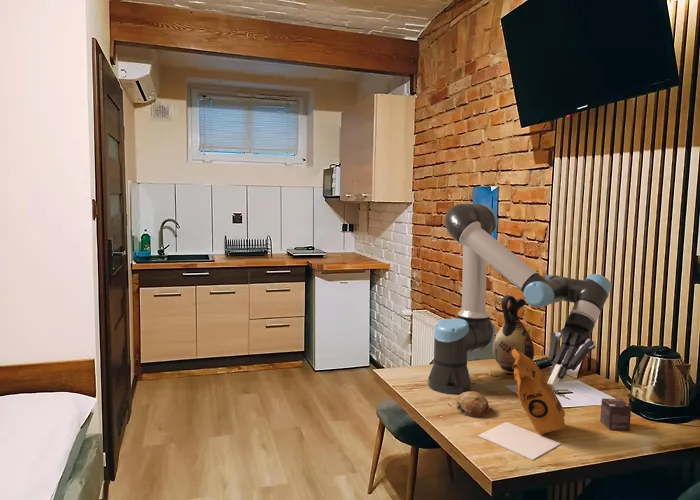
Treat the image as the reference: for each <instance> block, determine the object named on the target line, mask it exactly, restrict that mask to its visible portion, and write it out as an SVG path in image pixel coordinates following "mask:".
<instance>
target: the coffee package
mask: <svg viewBox="0 0 700 500" xmlns="http://www.w3.org/2000/svg"><path fill="white" fill-rule="evenodd" d="M511 353H512V356H513V357H514V358H515V359H516V360H515V363H514V364H513V367H512V369H514V374H513V376H514V381H515V388H516V392H517V396H518V399H519V401H520V403H521V406H522V409H523V410H524V412H525V414H526V415H527V417H528V418H529V420H530V422H531V423H532V426H533V428H534V430H535V432H537V434H538V435H544V434H545V433H551V432H554V431H559V430H561V429H563V428H565V426H566V424H565V422H566V421H565V415H566V412H565V409H564V407H563V405H562V403H561V401H560V400H559V398H558V396H557V394H556V392H555V390H554V389H551V388H550V387H549V385H548V384H547V382H548V380H549V379H548V378H547V377H546V376H545V375H544V373H543V371H542V370H541V369H540V367H539V366H538V364H537V363H536V362H535V361H534V359H533V360H532V359H530V358H529V357H527V356H525V355H524V354H522V353H521V352H519V351H518V350H516V349H513V350H512V352H511Z"/></svg>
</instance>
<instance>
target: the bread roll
mask: <svg viewBox="0 0 700 500" xmlns="http://www.w3.org/2000/svg"><path fill="white" fill-rule="evenodd" d="M455 401H456V410H457V412H458V413H459V414H462V415H465V416H468V417H471V418H480V417H484V416H486V415H487V414H488V411H489V409H490V408H489V401H488V399H487V398H486V396H484V395H483V394H482V393H480V392H478V391H473V390H472V391H471V390H470V391H468V392H463V393H459V395H458V397H457V399H456V400H455Z"/></svg>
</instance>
